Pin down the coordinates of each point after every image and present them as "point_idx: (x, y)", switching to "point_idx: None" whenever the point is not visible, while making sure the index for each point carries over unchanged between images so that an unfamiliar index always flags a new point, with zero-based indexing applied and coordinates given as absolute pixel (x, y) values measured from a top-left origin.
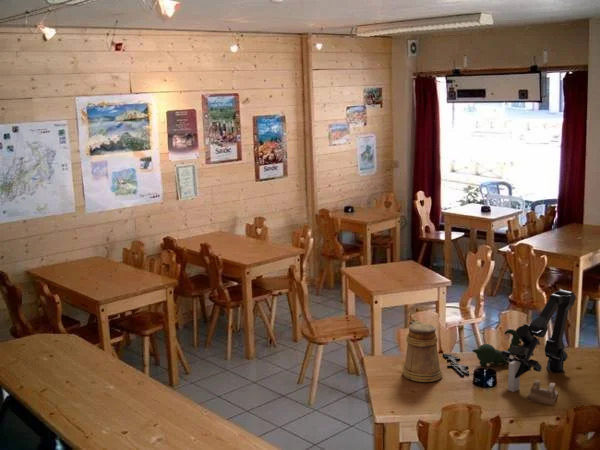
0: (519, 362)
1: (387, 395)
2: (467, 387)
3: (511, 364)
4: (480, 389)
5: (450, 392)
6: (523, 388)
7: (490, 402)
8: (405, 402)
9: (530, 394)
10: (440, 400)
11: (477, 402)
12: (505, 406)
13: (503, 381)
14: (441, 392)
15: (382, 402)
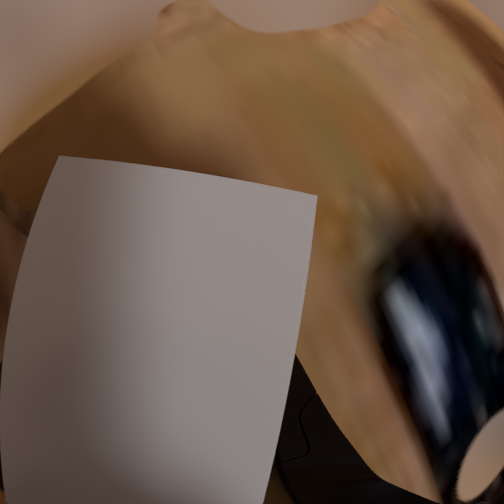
0: (13, 478)
1: (496, 33)
2: (457, 173)
3: (188, 187)
4: (401, 186)
5: (452, 88)
6: None
7: (249, 65)
8: (448, 7)
9: (13, 202)
10: (413, 25)
11: (304, 43)
12: (155, 71)
13: (352, 438)
14: (465, 79)
15: (467, 4)
